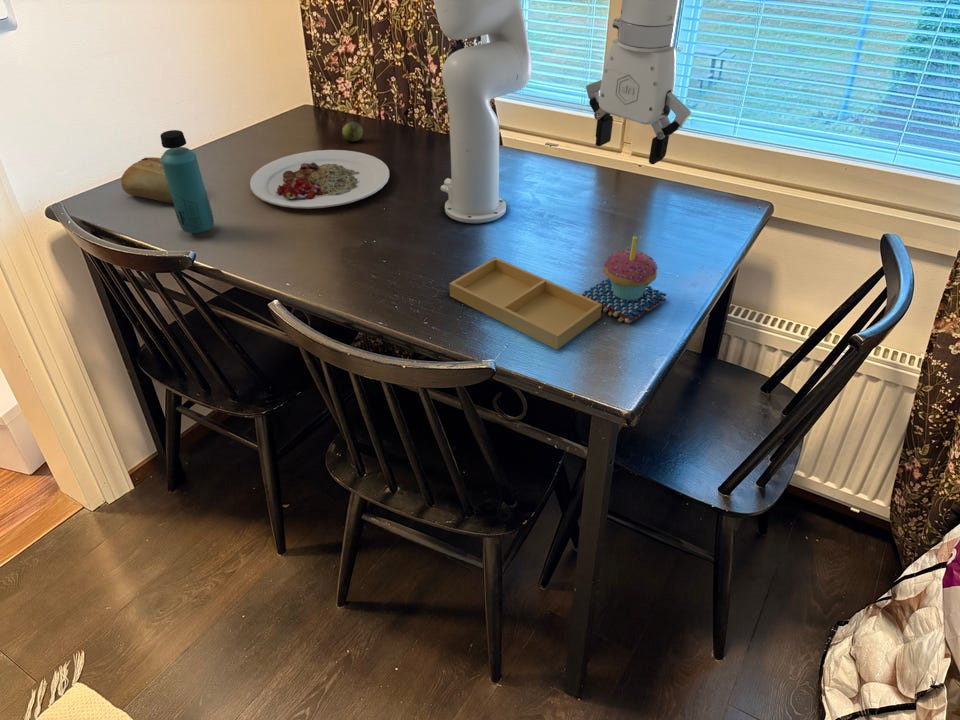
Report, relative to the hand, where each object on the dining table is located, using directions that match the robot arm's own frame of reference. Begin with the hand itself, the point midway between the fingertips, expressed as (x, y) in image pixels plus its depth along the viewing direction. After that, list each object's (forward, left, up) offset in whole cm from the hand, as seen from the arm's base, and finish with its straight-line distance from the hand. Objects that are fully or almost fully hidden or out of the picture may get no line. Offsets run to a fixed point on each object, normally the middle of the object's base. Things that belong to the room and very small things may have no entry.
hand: (628, 152), depth 110 cm
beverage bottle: (-71, -38, -24) cm, 84 cm away
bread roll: (-92, -35, -24) cm, 101 cm away
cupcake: (+5, -4, -22) cm, 23 cm away
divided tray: (-7, -16, -24) cm, 29 cm away
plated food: (-71, -8, -24) cm, 75 cm away
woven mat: (+5, -4, -24) cm, 25 cm away
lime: (-85, +13, -24) cm, 89 cm away
